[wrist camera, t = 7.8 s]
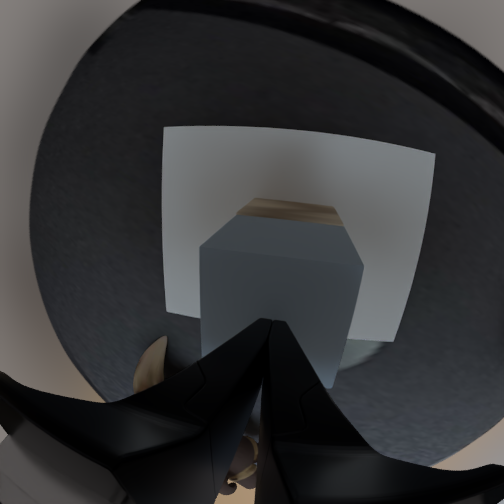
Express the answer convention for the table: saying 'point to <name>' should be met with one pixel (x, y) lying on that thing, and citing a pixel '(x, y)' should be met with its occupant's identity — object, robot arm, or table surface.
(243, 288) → the blue block
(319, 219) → the maple block
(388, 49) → the table surface
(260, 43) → the table surface
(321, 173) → the board
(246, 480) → the toy
